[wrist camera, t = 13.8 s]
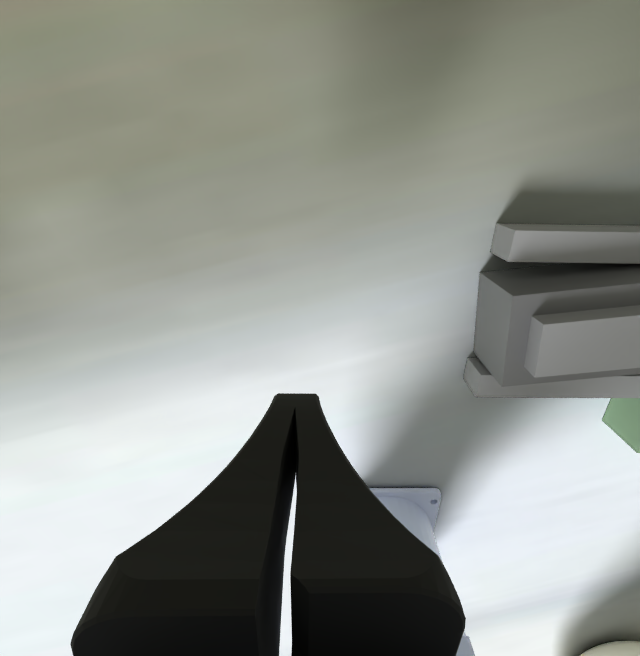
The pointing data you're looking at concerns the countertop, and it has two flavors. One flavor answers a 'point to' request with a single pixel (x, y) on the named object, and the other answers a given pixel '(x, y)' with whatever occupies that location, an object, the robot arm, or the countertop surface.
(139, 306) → the countertop surface
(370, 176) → the countertop surface
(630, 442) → the deck
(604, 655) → the planter
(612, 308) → the stepped grey block
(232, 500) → the robot arm
